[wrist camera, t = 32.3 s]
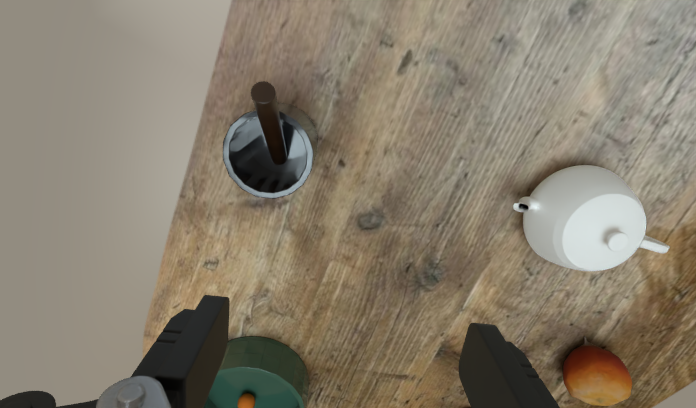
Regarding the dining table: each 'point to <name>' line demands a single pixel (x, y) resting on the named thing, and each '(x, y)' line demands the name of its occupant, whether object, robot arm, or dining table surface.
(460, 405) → the dining table surface
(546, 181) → the teapot
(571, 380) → the fruit
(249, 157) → the crock
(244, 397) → the ball
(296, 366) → the mixing bowl
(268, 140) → the stick
